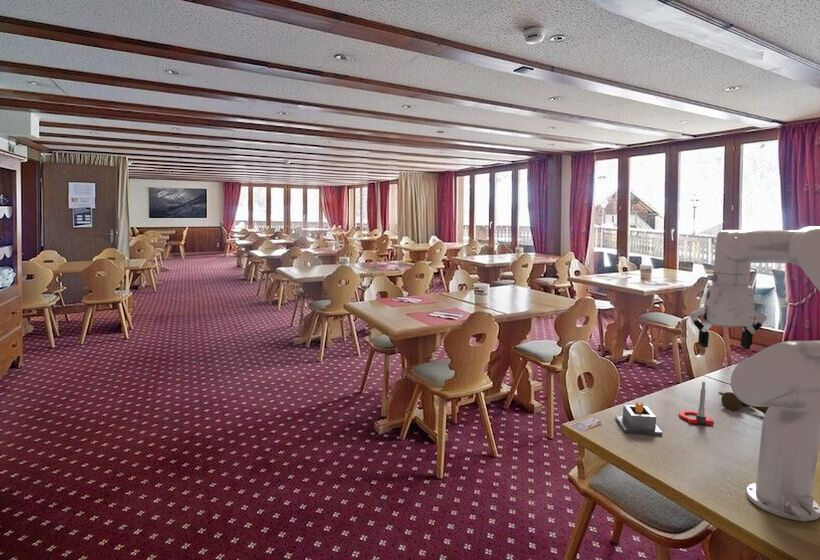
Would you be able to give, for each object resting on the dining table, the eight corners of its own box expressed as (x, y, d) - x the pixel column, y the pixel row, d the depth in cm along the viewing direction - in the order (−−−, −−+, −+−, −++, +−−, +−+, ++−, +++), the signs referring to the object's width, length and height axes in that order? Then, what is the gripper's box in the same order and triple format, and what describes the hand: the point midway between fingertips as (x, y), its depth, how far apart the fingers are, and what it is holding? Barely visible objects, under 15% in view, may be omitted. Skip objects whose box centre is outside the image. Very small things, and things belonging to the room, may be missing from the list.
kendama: (777, 428, 141) (708, 403, 158) (794, 423, 145) (725, 399, 163) (780, 409, 140) (711, 386, 157) (797, 404, 144) (727, 382, 162)
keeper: (662, 435, 134) (664, 411, 134) (624, 433, 136) (626, 409, 135) (650, 420, 144) (652, 398, 143) (615, 418, 146) (616, 396, 145)
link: (655, 430, 136) (656, 417, 135) (630, 428, 136) (631, 415, 136) (646, 418, 143) (646, 405, 143) (622, 417, 144) (623, 404, 144)
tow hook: (674, 413, 151) (686, 424, 142) (677, 373, 150) (689, 381, 141) (702, 415, 150) (717, 426, 141) (706, 374, 149) (720, 383, 140)
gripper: (699, 281, 117) (693, 349, 119) (778, 283, 114) (770, 353, 116) (686, 277, 124) (681, 341, 126) (760, 279, 121) (753, 344, 124)
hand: (724, 347), depth 121 cm, fingers open, 9 cm apart
